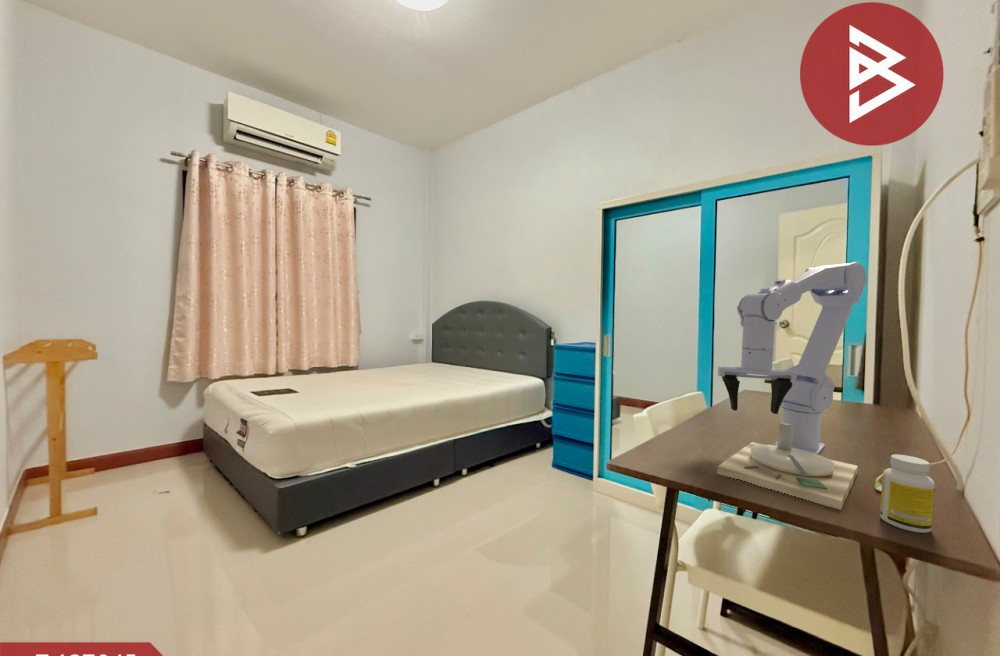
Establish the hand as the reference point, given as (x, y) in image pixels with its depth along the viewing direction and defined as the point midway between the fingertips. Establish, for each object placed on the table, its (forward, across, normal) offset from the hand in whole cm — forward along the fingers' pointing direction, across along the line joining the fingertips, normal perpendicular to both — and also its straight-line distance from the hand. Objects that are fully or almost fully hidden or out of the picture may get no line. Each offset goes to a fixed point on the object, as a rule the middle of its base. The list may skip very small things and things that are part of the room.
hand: (753, 411), depth 87 cm
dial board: (+9, +3, -10) cm, 14 cm away
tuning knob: (+7, +4, -11) cm, 14 cm away
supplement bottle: (+10, +13, -26) cm, 30 cm away
